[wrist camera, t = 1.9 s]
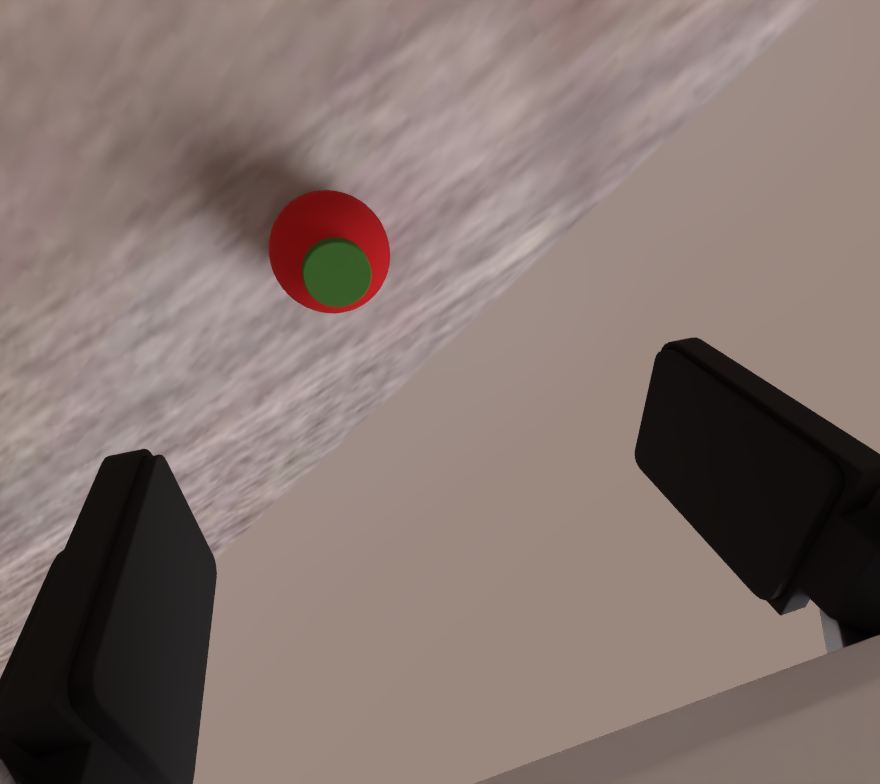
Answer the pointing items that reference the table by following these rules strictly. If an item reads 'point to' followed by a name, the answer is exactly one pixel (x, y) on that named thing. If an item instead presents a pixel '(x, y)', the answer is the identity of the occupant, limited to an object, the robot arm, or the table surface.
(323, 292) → the strawberry
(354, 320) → the table surface
